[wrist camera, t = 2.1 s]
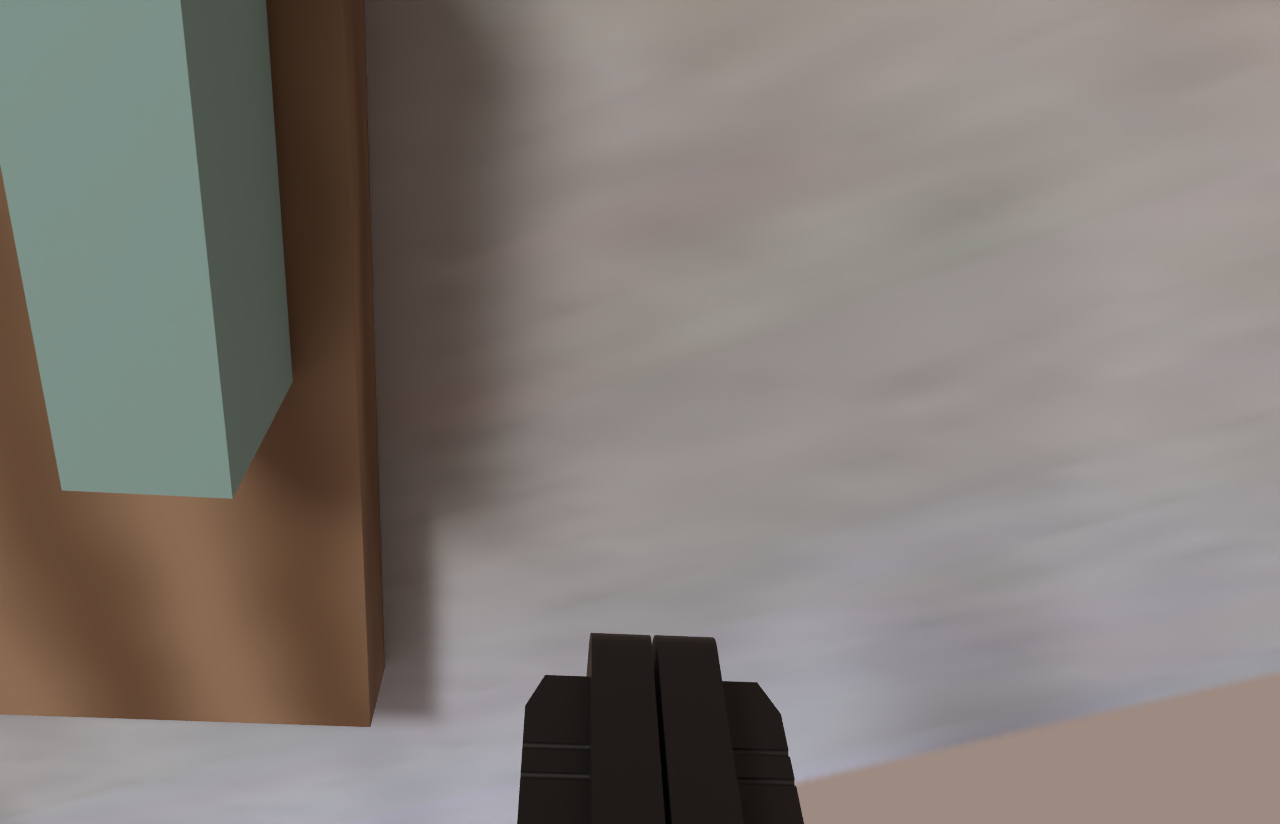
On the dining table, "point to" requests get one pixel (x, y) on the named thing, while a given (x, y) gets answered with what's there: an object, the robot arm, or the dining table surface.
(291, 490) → the board
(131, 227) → the hinged leg
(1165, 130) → the dining table surface
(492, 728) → the dining table surface
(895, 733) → the dining table surface
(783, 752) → the robot arm
